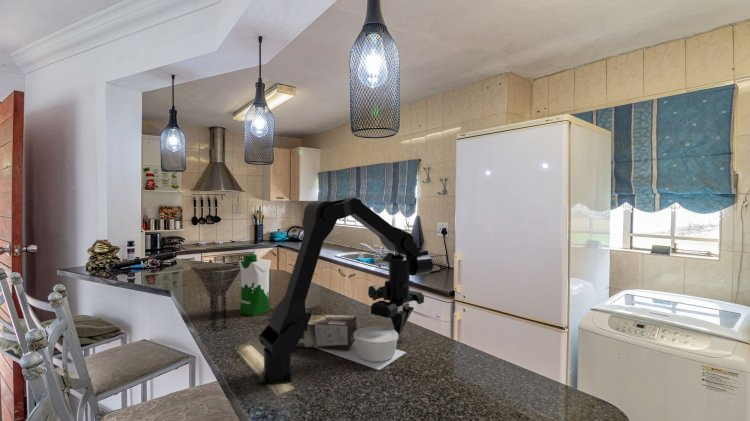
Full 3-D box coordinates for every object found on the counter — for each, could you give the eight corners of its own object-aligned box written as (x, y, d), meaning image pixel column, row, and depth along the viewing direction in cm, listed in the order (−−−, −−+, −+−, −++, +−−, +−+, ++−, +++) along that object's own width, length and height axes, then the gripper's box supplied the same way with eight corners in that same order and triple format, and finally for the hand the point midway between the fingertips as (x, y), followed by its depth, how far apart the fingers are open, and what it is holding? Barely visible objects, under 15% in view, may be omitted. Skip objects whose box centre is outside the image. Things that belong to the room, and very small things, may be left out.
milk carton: (236, 313, 121) (236, 254, 121) (257, 306, 129) (257, 251, 129) (252, 317, 117) (253, 257, 116) (274, 310, 124) (274, 254, 124)
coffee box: (289, 347, 93) (348, 351, 90) (288, 322, 93) (347, 325, 90) (303, 335, 102) (357, 338, 99) (303, 313, 102) (357, 315, 99)
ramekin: (355, 344, 95) (355, 325, 94) (397, 345, 94) (397, 326, 94) (351, 363, 83) (351, 341, 83) (398, 365, 83) (399, 342, 83)
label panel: (406, 352, 91) (406, 351, 91) (379, 370, 81) (379, 369, 81) (341, 333, 103) (341, 332, 103) (311, 346, 94) (311, 345, 94)
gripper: (393, 269, 109) (392, 319, 110) (354, 278, 94) (354, 337, 95) (425, 273, 103) (424, 327, 103) (389, 285, 88) (388, 347, 88)
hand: (398, 333), depth 97 cm, fingers closed
